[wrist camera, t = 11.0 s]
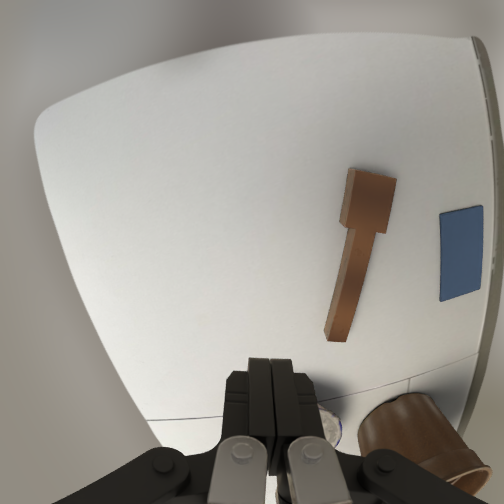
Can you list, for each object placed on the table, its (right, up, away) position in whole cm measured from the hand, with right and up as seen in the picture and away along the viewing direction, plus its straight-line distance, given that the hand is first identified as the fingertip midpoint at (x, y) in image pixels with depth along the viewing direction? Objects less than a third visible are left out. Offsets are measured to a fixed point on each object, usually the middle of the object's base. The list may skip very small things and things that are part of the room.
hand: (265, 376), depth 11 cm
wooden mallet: (+9, +4, +19) cm, 21 cm away
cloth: (+22, +4, +18) cm, 29 cm away
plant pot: (+20, -20, +27) cm, 39 cm away
